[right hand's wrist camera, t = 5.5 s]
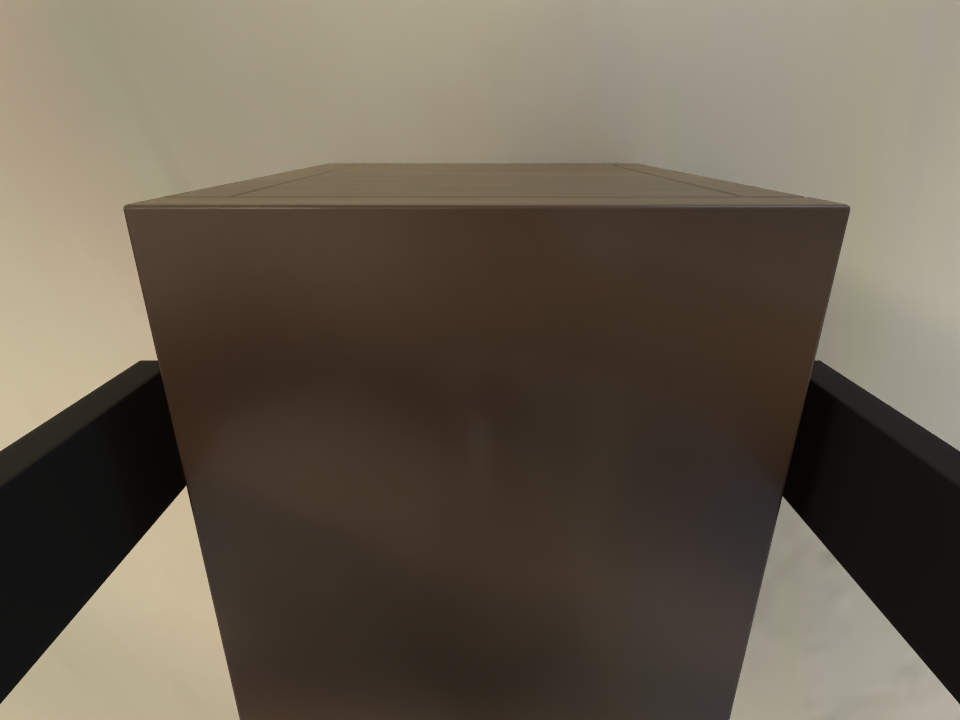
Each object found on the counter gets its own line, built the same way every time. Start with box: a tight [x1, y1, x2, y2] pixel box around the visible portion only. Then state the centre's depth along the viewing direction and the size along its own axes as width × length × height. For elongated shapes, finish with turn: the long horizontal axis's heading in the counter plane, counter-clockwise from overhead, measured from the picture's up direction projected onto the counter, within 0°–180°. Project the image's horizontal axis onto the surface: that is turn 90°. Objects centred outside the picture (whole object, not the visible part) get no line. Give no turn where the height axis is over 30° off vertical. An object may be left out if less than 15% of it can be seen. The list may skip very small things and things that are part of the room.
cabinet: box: [124, 164, 850, 720], centre depth 17 cm, size 20×10×12 cm, turn 0°
